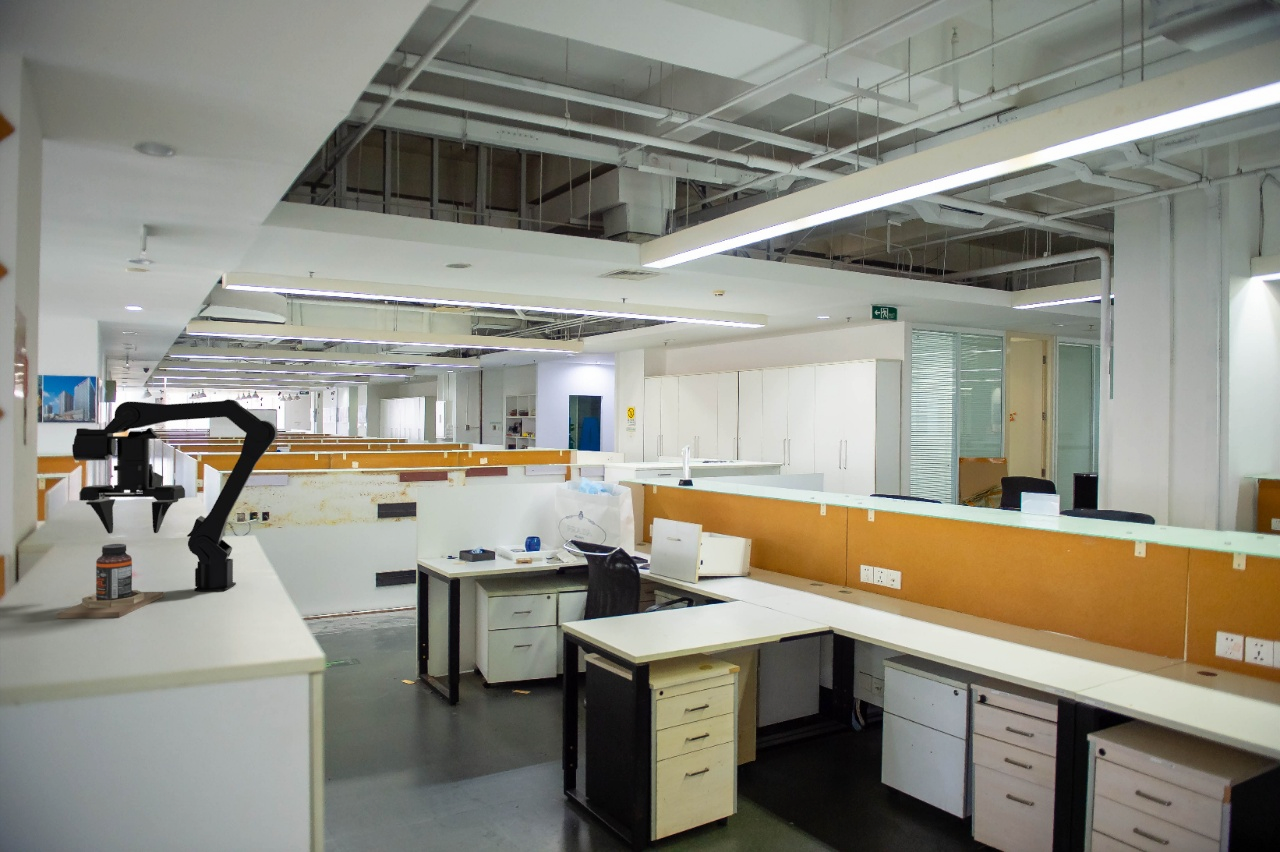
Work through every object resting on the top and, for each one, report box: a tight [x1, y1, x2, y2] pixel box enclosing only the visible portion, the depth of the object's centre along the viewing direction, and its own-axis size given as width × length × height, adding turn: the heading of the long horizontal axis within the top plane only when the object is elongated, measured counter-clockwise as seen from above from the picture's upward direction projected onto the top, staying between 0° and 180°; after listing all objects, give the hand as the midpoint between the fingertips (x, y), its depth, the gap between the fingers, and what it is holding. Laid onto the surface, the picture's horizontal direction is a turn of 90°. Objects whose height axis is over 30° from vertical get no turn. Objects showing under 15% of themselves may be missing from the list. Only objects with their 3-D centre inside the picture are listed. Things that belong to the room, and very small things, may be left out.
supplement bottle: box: [95, 543, 133, 601], centre depth 157 cm, size 6×6×11 cm
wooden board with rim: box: [56, 589, 165, 619], centre depth 157 cm, size 11×17×2 cm, turn 6°
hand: (133, 533), depth 168 cm, fingers open, 9 cm apart
